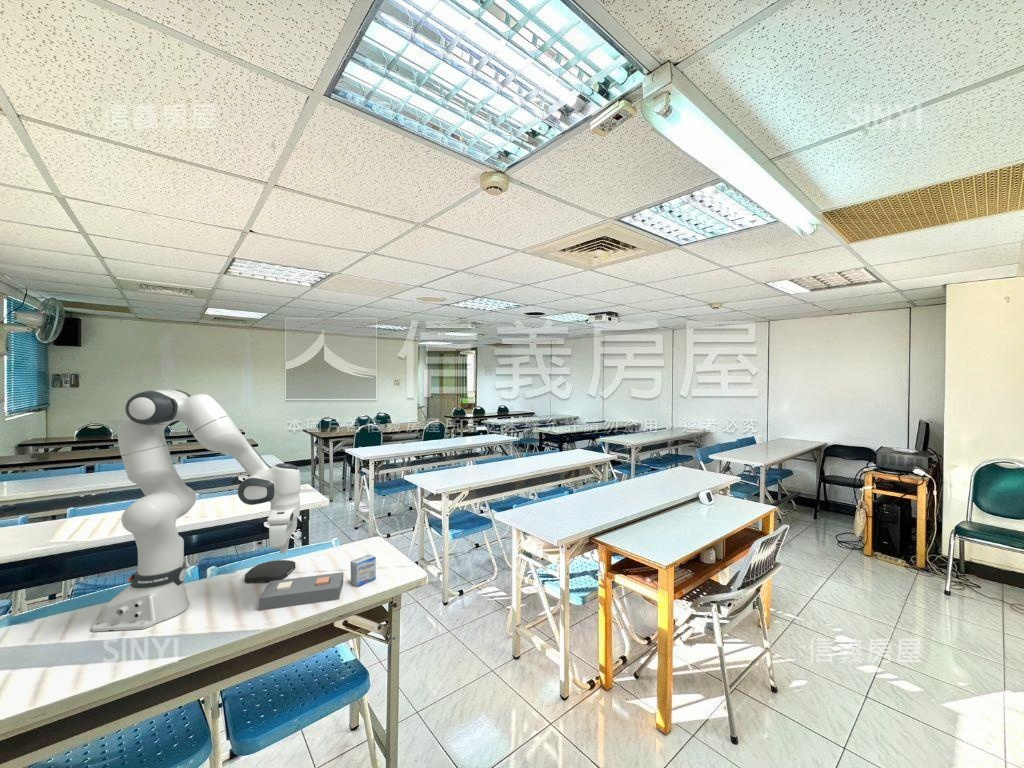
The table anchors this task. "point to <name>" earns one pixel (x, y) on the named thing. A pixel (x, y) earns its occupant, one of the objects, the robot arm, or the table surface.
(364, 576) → the medicine box
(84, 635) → the table surface
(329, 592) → the key panel
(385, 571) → the table surface
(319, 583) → the terracotta key
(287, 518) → the robot arm
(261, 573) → the media streaming box
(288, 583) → the sand key
